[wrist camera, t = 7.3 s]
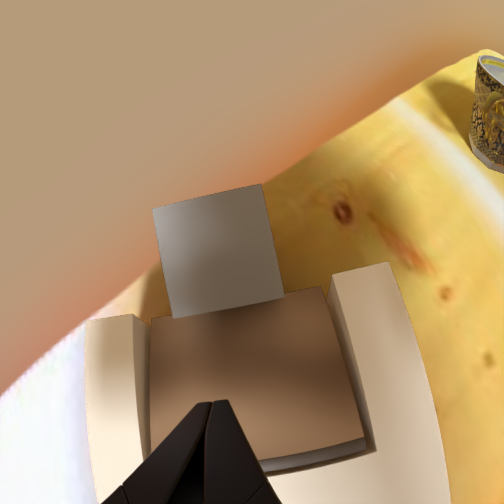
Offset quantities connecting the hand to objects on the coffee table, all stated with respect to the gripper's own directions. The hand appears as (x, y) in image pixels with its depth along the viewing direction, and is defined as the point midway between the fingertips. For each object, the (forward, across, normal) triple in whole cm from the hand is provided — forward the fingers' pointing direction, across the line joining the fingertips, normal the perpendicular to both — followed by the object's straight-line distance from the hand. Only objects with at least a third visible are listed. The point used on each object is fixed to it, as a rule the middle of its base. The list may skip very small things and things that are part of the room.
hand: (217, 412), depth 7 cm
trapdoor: (+6, 0, +4) cm, 7 cm away
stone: (+11, 0, -2) cm, 11 cm away
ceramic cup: (+20, -28, -4) cm, 35 cm away
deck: (+6, 0, +9) cm, 11 cm away
